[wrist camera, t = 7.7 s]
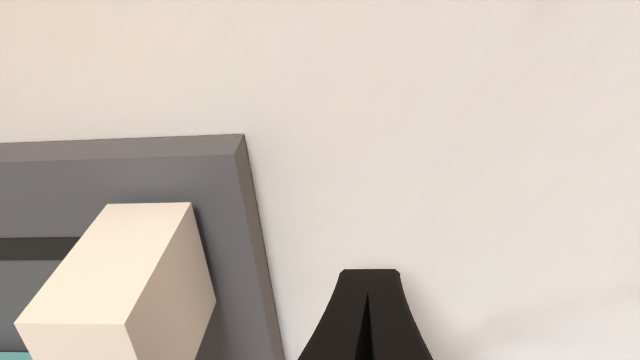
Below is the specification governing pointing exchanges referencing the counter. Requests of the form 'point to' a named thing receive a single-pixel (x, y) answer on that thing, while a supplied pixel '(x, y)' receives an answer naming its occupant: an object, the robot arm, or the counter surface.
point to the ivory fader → (125, 290)
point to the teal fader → (15, 356)
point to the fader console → (139, 187)
